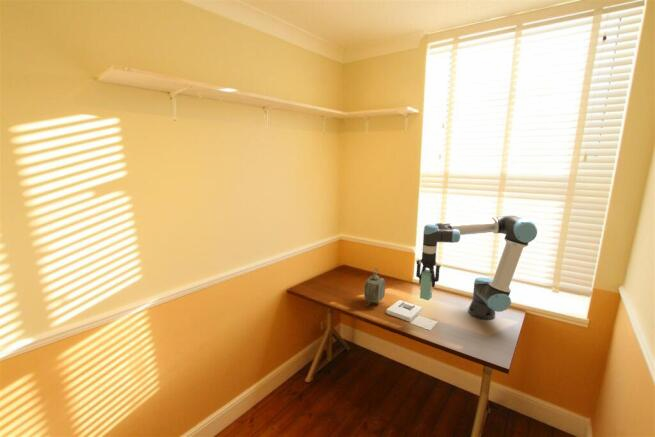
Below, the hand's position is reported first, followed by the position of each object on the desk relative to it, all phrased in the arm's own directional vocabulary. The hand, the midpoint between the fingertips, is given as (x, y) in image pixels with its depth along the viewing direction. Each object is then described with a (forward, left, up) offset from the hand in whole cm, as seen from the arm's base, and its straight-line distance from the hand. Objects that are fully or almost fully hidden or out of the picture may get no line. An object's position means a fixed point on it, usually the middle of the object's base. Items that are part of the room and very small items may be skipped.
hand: (426, 290), depth 183 cm
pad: (0, 0, -20) cm, 20 cm away
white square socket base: (+15, -5, -20) cm, 26 cm away
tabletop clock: (+35, -2, -21) cm, 41 cm away
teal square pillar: (0, 0, -4) cm, 4 cm away
